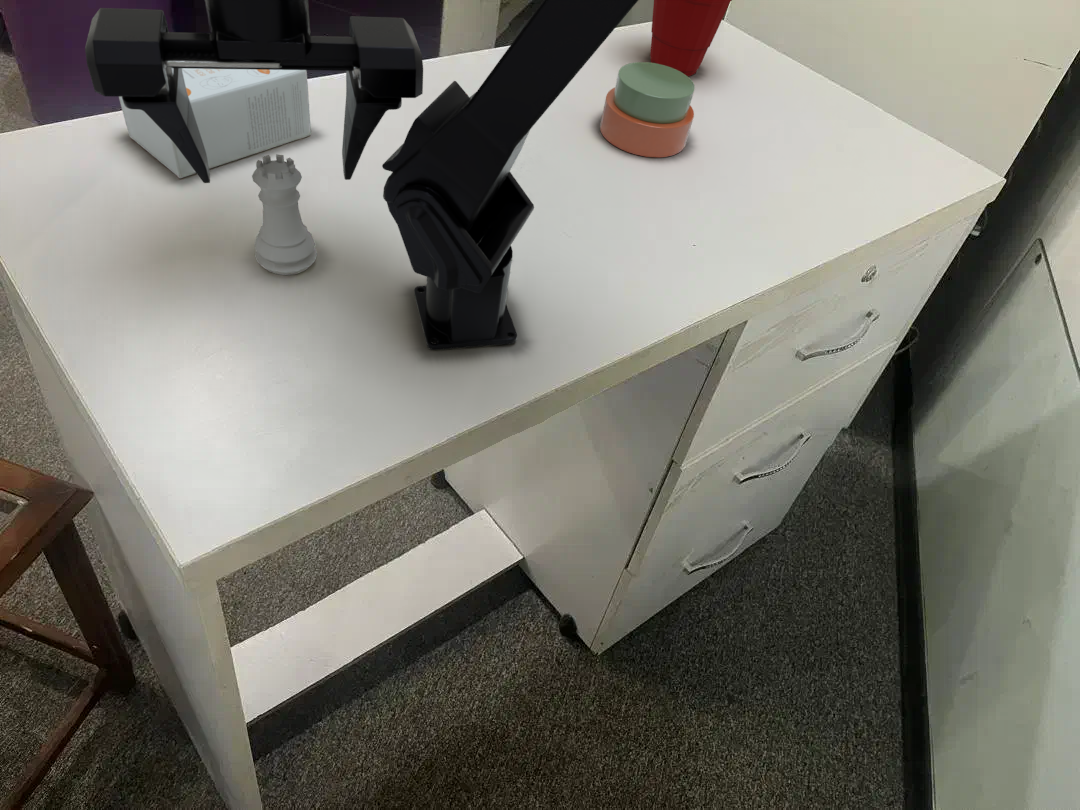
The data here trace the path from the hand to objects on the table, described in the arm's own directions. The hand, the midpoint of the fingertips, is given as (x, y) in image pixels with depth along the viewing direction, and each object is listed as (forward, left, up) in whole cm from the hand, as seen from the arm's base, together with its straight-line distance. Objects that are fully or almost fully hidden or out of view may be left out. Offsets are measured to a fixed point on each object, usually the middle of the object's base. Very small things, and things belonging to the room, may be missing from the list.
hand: (278, 178), depth 54 cm
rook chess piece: (0, 0, -7) cm, 7 cm away
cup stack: (+18, -36, -7) cm, 41 cm away
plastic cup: (+34, -46, -7) cm, 58 cm away
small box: (+22, -1, -4) cm, 22 cm away
